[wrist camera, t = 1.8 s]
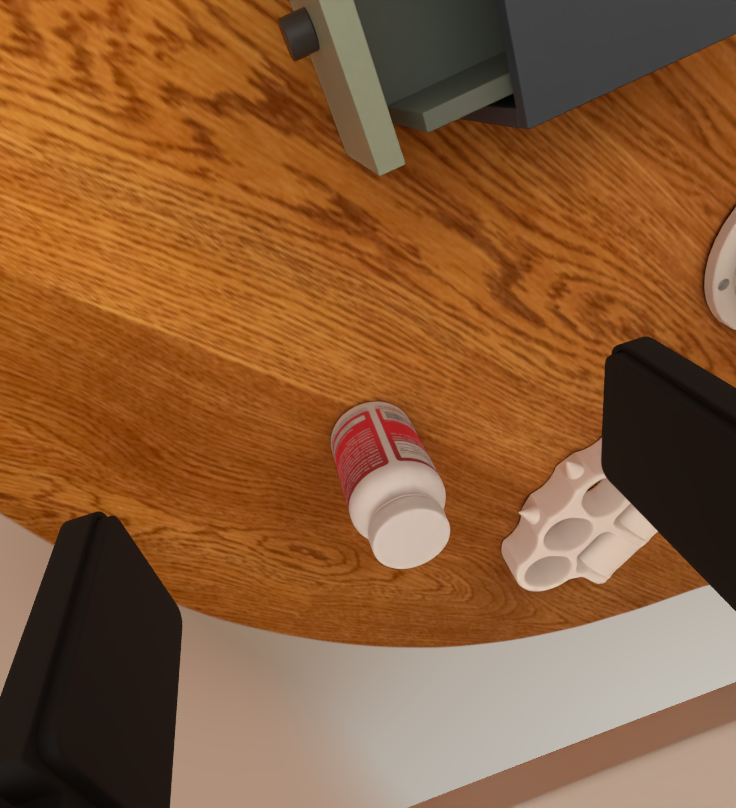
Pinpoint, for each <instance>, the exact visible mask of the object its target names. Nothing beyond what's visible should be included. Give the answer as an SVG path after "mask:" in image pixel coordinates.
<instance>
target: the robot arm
mask: <svg viewBox="0 0 736 808" xmlns="http://www.w3.org/2000/svg"><path fill="white" fill-rule="evenodd" d="M704 291H705V296H706V302H707V304H708V306H709V309H710V311H711V313H712V314H713V315H714V316H715V317H716V319H717V320H718V321H719V322H721V323H723V324H724V325H726V326H728V327H730V328H732V329H734V330H736V207H735V209H734V210H733V212H732V213H731V214H730V216H729V217H728V219H727V220H726V221H725V223H724V225H723V226H722V228H721V230H720V232H719V234H718V236H717V238H716V239H715V242H714V244H713V247H712V249H711V252H710V255H709V257H708V262H707V266H706V271H705V282H704ZM601 466H602V470H603V472H604V475H605V476H606V478H607V479H608V480H609V482H610V483H611V484H612V485H613V486H614V487H615V488H616V489H617V490H618V491H619V492H620V493H621V494H622V495H623V496H624V497H625V498H626V499H627V500H628V501H629V502H630V503H631V504H632V505H633V506H634V507H635V508H636V509H637V510H638V511H639V512H640V513H641V514H642V515H643V516H644V517H645V519H646V520H647V521H648V522H649V523H650V524H651V525H652V526H653V527H654V528H655V529H656V530H657V531H658V532H659V533H660V534H661V535H662V536H663V537H664V538H665V539H666V540H667V541H668V542H669V543H670V544H671V545H672V546H673V547H674V548H675V549H676V550H677V551H678V552H679V553H680V554H681V555H682V557H683V558H684V559H685V560H686V561H687V562H688V563H689V564H690V565H691V566H692V567H693V568H694V569H695V570H696V571H697V572H698V573H699V574H700V575H701V576H702V577H703V578H704V579H705V580H706V581H707V582H708V583H709V584H710V585H711V586H712V587H713V588H714V589H715V590H716V591H717V592H718V593H719V595H720V596H721V597H722V598H723V599H724V600H725V601H726V602H727V603H728V604H729V605H730V606H731V607H732V608H733V609H734V610H735V611H736V388H735V387H733V386H732V385H730V384H728V383H727V382H725V381H723V380H721V379H720V378H718V377H716V376H715V375H713V374H711V373H710V372H708V371H706V370H705V369H703V368H701V367H700V366H698V365H696V364H695V363H693V362H691V361H689V360H688V359H686V358H684V357H683V356H681V355H679V354H678V353H676V352H674V351H673V350H671V349H669V348H668V347H666V346H664V345H663V344H661V343H659V342H658V341H656V340H654V339H652V338H650V337H641V338H638V339H635V340H632V341H629V342H626V343H623V344H620V345H617V346H616V347H614V349H613V351H612V354H611V355H610V356H609V357H607V359H606V362H605V379H604V402H603V425H602V448H601ZM181 637H182V618H181V613H180V611H179V608H178V606H177V604H176V603H175V601H174V600H173V598H172V597H171V596H170V594H169V593H168V591H167V590H166V588H165V587H164V585H163V584H162V582H161V581H160V579H159V578H158V576H157V575H156V573H155V572H154V570H153V569H152V567H151V566H150V565H149V563H148V562H147V560H146V559H145V557H144V556H143V554H142V553H141V551H140V550H139V548H138V547H137V545H136V544H135V542H134V541H133V539H132V538H131V536H130V535H129V533H128V532H127V531H126V529H125V528H124V526H123V525H122V523H121V522H120V520H119V519H118V518H117V517H116V516H109V517H107V516H106V515H105V514H104V513H102V512H94V513H91V514H88V515H85V516H82V517H79V518H76V519H73V520H69V521H67V522H65V523H64V524H63V525H62V527H61V529H60V531H59V534H58V537H57V540H56V543H55V545H54V548H53V551H52V554H51V557H50V559H49V562H48V565H47V568H46V571H45V573H44V577H43V579H42V582H41V585H40V588H39V590H38V593H37V596H36V599H35V601H34V604H33V607H32V610H31V613H30V616H29V618H28V621H27V624H26V626H25V629H24V632H23V635H22V637H21V640H20V643H19V646H18V649H17V652H16V654H15V657H14V660H13V663H12V665H11V668H10V671H9V674H8V677H7V679H6V682H5V685H4V688H3V691H2V694H1V696H0V808H170V796H171V782H172V767H173V754H174V753H173V752H174V739H175V725H176V710H177V696H178V682H179V667H180V652H181ZM409 808H736V682H735V683H732V684H730V685H727V686H724V687H722V688H719V689H717V690H714V691H711V692H709V693H706V694H704V695H701V696H698V697H696V698H693V699H690V700H687V701H685V702H682V703H679V704H677V705H675V706H672V707H669V708H666V709H664V710H661V711H658V712H656V713H653V714H650V715H648V716H645V717H643V718H640V719H637V720H635V721H632V722H630V723H627V724H624V725H622V726H619V727H616V728H614V729H611V730H609V731H606V732H603V733H601V734H598V735H595V736H593V737H590V738H588V739H585V740H582V741H580V742H578V743H575V744H572V745H569V746H567V747H564V748H562V749H559V750H556V751H554V752H551V753H549V754H546V755H544V756H541V757H538V758H536V759H533V760H531V761H528V762H525V763H523V764H520V765H517V766H515V767H512V768H510V769H507V770H504V771H502V772H499V773H497V774H494V775H491V776H489V777H486V778H484V779H481V780H479V781H476V782H473V783H471V784H468V785H466V786H463V787H460V788H458V789H455V790H453V791H450V792H447V793H445V794H442V795H440V796H437V797H434V798H432V799H429V800H427V801H424V802H421V803H419V804H416V805H414V806H411V807H409Z"/></svg>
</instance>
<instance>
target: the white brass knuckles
mask: <svg viewBox="0 0 736 808" xmlns="http://www.w3.org/2000/svg"><path fill="white" fill-rule="evenodd" d="M601 448H602V437H601V438H600V439H599V440H598V441H597V442H595V443H594V444H593V445H591V446H589V447H588V448H586V449H584V450H581V451H578V452H574V453H573V454H571V455H570V456H569V457H567V458H566V459H565V460H563V461H562V462H561V463H559V464H558V465H557V466H556V467H555V470H554V472H553V474H552V476H551V477H550V479H549V480H548V481H547V482H546V483H545V484H544V485H543V486H542V487H541V488H539V489H538V490H536V491H535V492H533V493H531V494H530V496H529V497H528V499H527V501H526V502H525V504H524V506H523V507H522V509H521V511H520V512H518V513H519V514H520V515H521V518H520V522H519V524H518V526H517V527H516V529H515V530H514V531H513V532H512V533H511V534H510V535H509V536H508V537H507V538H506V539H504V540H503V543H502V547H501V551H502V556H503V558H504V560H505V561H506V563H507V565H508V567H509V569H510V570H511V572H512V574H513V576H514V577H515V579H516V581H517V583H518V584H519V585H520V586H521V587H523V588H524V589H527V590H530V591H544V590H549V589H552V588H554V587H557V586H559V585H561V584H562V583H564V582H566V581H567V580H569V579H572V578H577V577H584V578H587V579H588V580H590V581H592V582H595V583H598V584H601V583H605V582H606V581H607V580H608V579H609V578H610V577H611V574H613V573H614V572H615V571H616V570H617V569H618V568H619V567H620V566H621V565H622V564H623V563H624V562H626V561H627V560H628V559H629V558H630V557H631V556H632V555H633V554H634V553H635V552H636V551H637V550H638V549H639V548H641V547H642V546H644V545H645V544H646V543H647V542H648V541H649V540H650V538H651V537H652V536H653V535H654V534H655V533H657V532H658V531H657V530H656V529H655V528H654V527H653V526H652V525H651V524H650V523H649V522H648V521H647V520H646V519H645V517H644V516H643V515H642V514H641V513H640V512H639V511H638V510H637V509H636V508H635V507H634V506H633V505H632V504H631V503H630V502H629V501H628V500H627V499H626V498H625V497H624V496H623V495H622V494H621V493H620V492H619V491H618V490H617V489H616V488H615V487H614V486H613V485H612V484H611V483H610V482H609V480H608V479H607V478H606V476H605V475H604V472H603V470H602V466H601ZM599 480H601V481H600V482H599V483H598V484H597V485H596V486H595V487H594V488H592V489H590V490H588V489H589V488H590V487H591V486H592V485H593V484H594V483H596V482H598V481H599ZM587 490H588V491H587Z"/></svg>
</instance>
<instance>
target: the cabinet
mask: <svg viewBox="0 0 736 808" xmlns="http://www.w3.org/2000/svg"><path fill="white" fill-rule="evenodd" d="M496 5H497V10H498V15H499V21H500V26H501V31H502V36H503V41H504V47H505V52H506V57H507V62H508V68H509V73H510V78H511V83H512V88H513V94H511V95H509V96H507V97H505V98H502V99H500V100H498V101H496V102H494V103H492V104H489V105H487V106H485V107H483V108H481V109H479V110H477V111H474V112H472V113H470V114H468V115H466V116H464V117H462V118H459V119H464V120H471V121H477V122H483V123H490V124H496V125H502V126H509V127H515V128H523V129H531V128H533V127H535V126H537V125H540V124H542V123H544V122H546V121H548V120H550V119H552V118H555V117H557V116H559V115H561V114H563V113H565V112H568V111H570V110H572V109H574V108H576V107H578V106H581V105H583V104H585V103H587V102H589V101H591V100H594V99H596V98H598V97H600V96H602V95H604V94H607V93H609V92H611V91H613V90H615V89H617V88H619V87H622V86H624V85H626V84H628V83H630V82H632V81H635V80H637V79H639V78H641V77H643V76H645V75H648V74H650V73H652V72H654V71H656V70H658V69H661V68H663V67H665V66H667V65H669V64H671V63H673V62H676V61H678V60H680V59H682V58H684V57H686V56H689V55H691V54H693V53H695V52H697V51H699V50H702V49H704V48H706V47H708V46H710V45H712V44H715V43H717V42H719V41H721V40H723V39H725V38H728V37H730V36H732V35H734V34H736V0H496Z"/></svg>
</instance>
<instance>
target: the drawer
mask: <svg viewBox="0 0 736 808" xmlns="http://www.w3.org/2000/svg"><path fill="white" fill-rule="evenodd" d="M289 1H290V4H291V7H292V9H293V12H291V13H289V14H287V15H285V16H283V17H281V18H279V19H278V23H279V27H280V30H281V33H282V36H283V39H284V41H285V44H286V46H287V49H288V51H289V53H290V55H291V57H292V59H293V60H294V61H297V60H300V59H302V58H304V57H306V56H308V55H310V58H311V60H312V63H313V66H314V68H315V71H316V74H317V76H318V79H319V82H320V84H321V87H322V90H323V93H324V95H325V98H326V101H327V103H328V106H329V109H330V111H331V114H332V117H333V119H334V122H335V125H336V127H337V130H338V133H339V135H340V138H341V141H342V143H343V146H344V149H345V151H346V154H347V155H348V156H349V157H351V158H352V159H354V160H356V161H357V162H359V163H360V164H362V165H363V166H365V167H367V168H368V169H370V170H371V171H373V172H374V173H376V174H377V175H379V176H381V175H384V174H386V173H388V172H390V171H392V170H394V169H396V168H399V167H401V166H403V165H405V161H404V158H403V155H402V152H401V148H400V145H399V142H398V139H397V136H396V133H395V129H394V126H393V124H396V125H400V126H404V127H408V128H411V129H415V130H419V131H423V132H427V133H429V132H431V131H434V130H436V129H438V128H440V127H442V126H444V125H446V124H449V123H451V122H453V121H455V120H457V119H459V118H462V117H464V116H466V115H468V114H470V113H472V112H474V111H477V110H479V109H481V108H483V107H485V106H487V105H489V104H492V103H494V102H496V101H498V100H500V99H502V98H505V97H507V96H509V95H511V94H513V88H512V83H511V78H510V73H509V68H508V62H507V57H506V52H505V47H504V41H503V36H502V31H501V26H500V21H499V15H498V10H497V5H496V0H289Z"/></svg>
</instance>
